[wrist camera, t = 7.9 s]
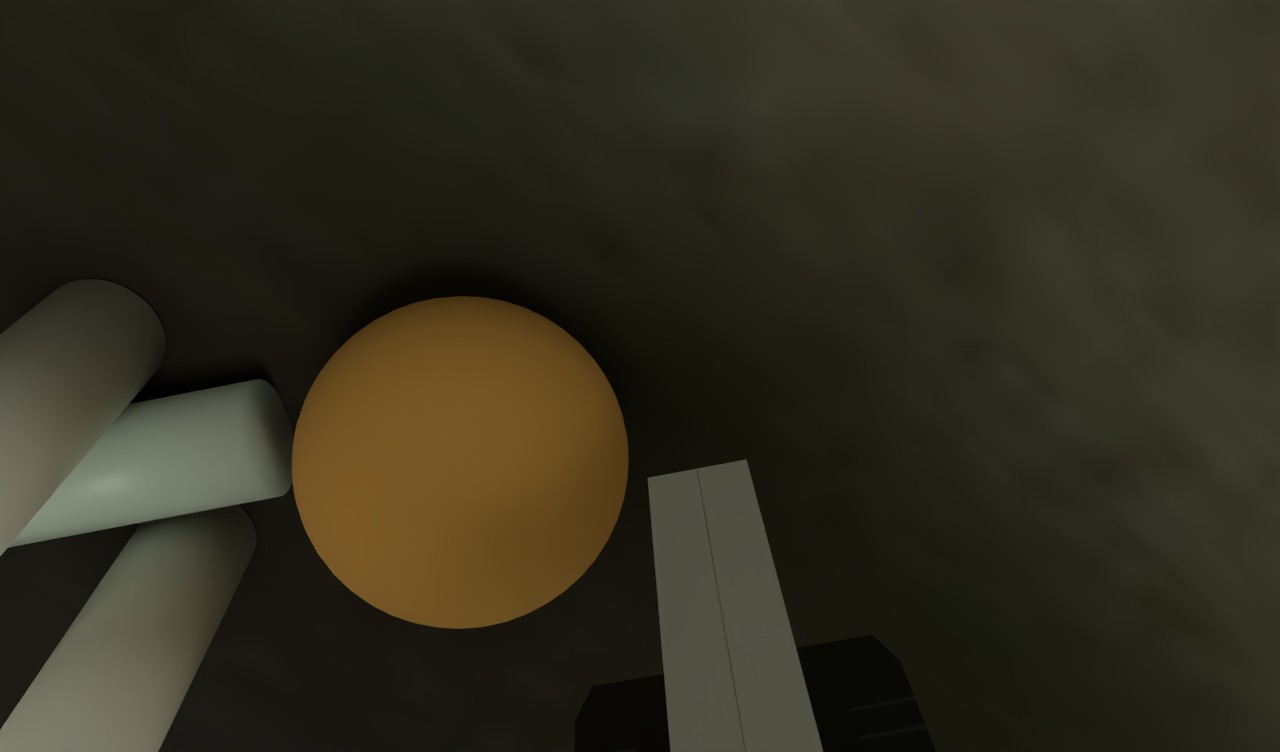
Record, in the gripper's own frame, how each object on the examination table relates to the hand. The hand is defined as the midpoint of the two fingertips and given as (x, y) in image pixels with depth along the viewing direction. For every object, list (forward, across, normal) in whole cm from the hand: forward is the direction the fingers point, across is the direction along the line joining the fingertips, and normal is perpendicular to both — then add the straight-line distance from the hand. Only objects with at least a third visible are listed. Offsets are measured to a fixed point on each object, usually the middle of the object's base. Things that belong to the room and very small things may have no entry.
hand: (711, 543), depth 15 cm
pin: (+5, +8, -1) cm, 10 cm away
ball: (+3, +4, 0) cm, 5 cm away
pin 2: (+6, +11, +2) cm, 13 cm away
